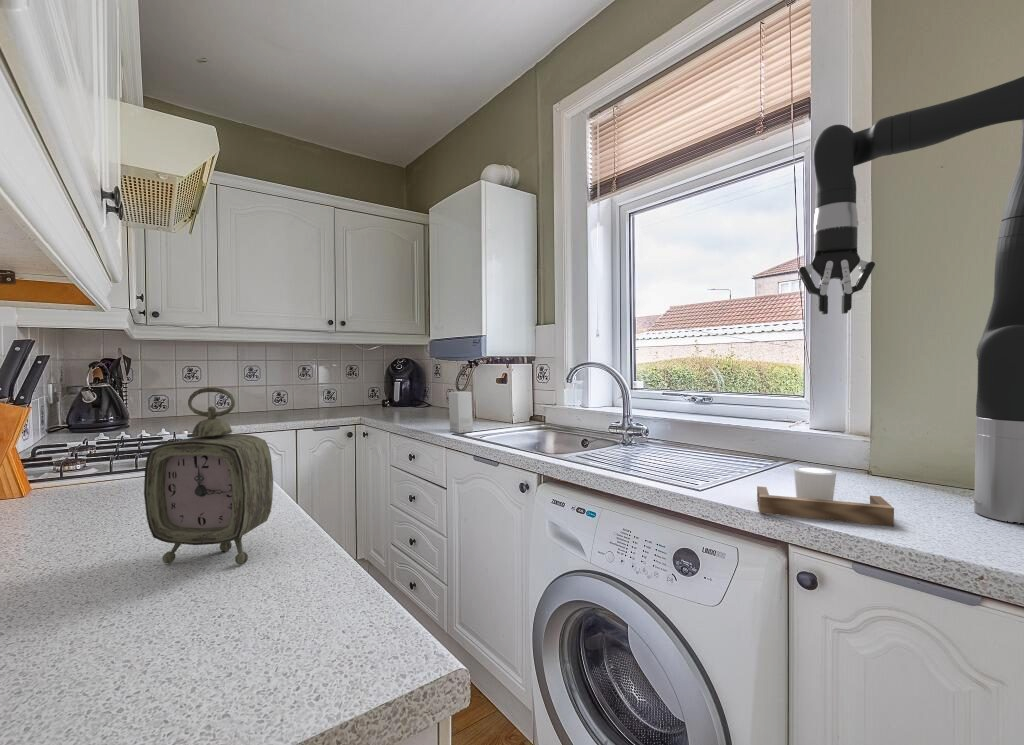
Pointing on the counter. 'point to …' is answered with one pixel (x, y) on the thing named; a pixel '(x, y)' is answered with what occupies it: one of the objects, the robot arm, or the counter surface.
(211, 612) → the counter surface
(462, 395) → the skincare box
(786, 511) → the stop rail
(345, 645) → the counter surface
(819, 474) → the white cup
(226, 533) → the tabletop clock
